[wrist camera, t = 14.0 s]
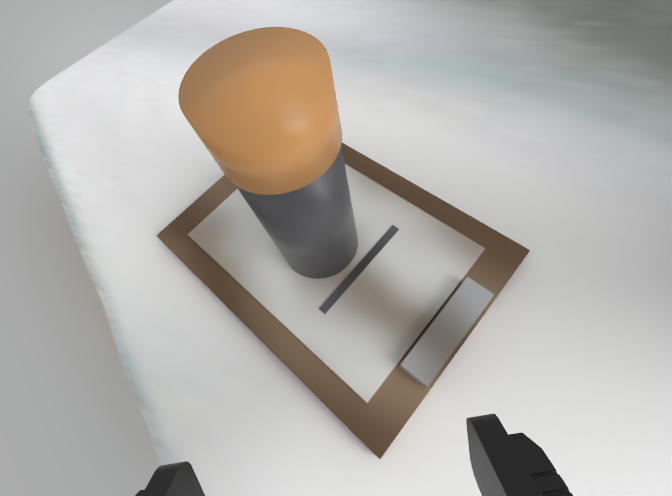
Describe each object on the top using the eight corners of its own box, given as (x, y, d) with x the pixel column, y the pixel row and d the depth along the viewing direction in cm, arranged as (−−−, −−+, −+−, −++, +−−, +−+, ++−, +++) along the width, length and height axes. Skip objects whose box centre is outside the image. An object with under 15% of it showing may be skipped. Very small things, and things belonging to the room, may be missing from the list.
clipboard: (294, 121, 28) (289, 104, 26) (524, 256, 20) (536, 242, 19) (163, 240, 24) (147, 228, 23) (380, 457, 17) (379, 462, 15)
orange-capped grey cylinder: (317, 197, 23) (256, 12, 12) (375, 235, 21) (363, 55, 10) (266, 250, 22) (149, 94, 11) (323, 296, 20) (248, 161, 9)
